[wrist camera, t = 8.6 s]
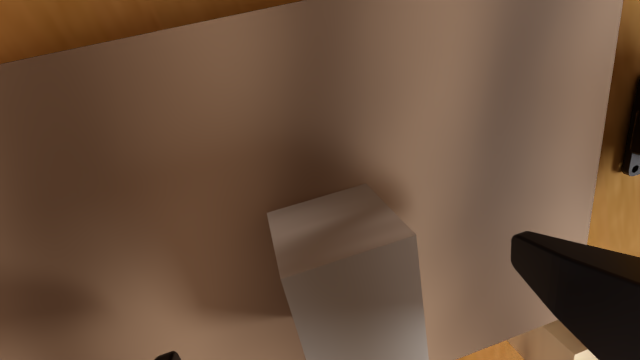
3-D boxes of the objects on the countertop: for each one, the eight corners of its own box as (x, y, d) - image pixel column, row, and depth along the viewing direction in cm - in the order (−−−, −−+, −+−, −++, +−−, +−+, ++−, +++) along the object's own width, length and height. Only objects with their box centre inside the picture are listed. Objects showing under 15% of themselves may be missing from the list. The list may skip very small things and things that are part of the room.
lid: (597, -59, 10) (803, -118, 6) (556, 297, 16) (654, 372, 12) (-187, 106, 7) (-608, 168, 4) (109, 466, 13) (61, 630, 9)
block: (561, 248, 24) (670, 315, 18) (556, 292, 25) (655, 366, 20) (486, 275, 23) (574, 354, 17) (486, 318, 25) (566, 404, 19)
